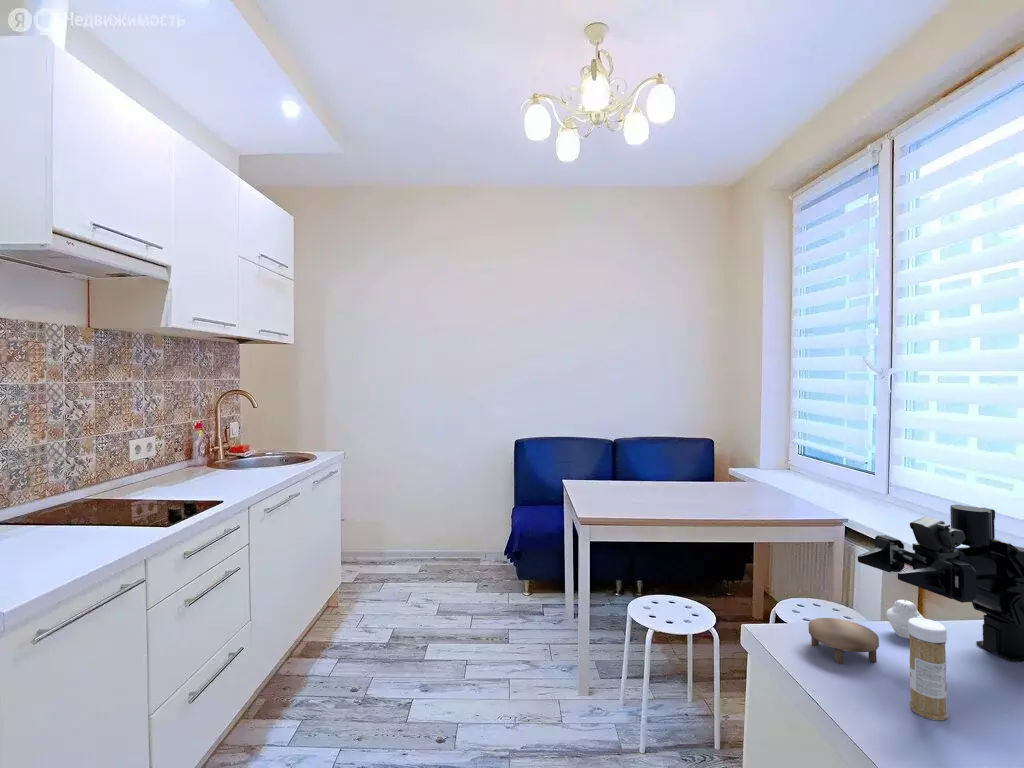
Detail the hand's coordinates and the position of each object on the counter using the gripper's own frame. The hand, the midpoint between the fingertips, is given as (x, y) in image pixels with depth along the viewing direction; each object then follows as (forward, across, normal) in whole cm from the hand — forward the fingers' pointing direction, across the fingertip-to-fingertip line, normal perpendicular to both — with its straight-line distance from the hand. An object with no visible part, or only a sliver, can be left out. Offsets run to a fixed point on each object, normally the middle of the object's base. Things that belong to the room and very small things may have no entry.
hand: (877, 567), depth 94 cm
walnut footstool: (+5, -3, +16) cm, 17 cm away
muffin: (-12, -8, +17) cm, 22 cm away
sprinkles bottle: (+5, +15, +17) cm, 23 cm away
